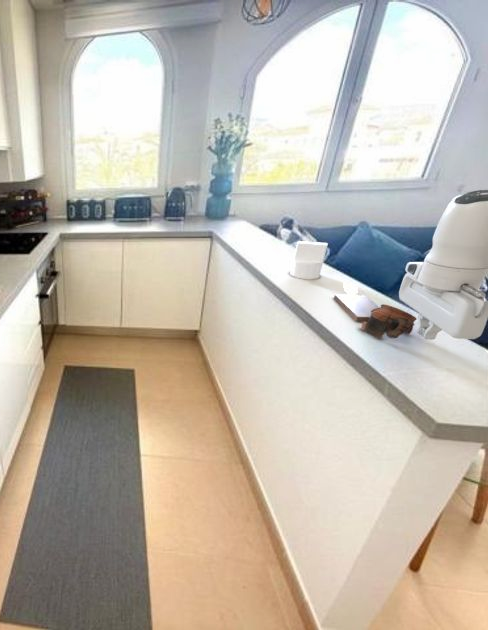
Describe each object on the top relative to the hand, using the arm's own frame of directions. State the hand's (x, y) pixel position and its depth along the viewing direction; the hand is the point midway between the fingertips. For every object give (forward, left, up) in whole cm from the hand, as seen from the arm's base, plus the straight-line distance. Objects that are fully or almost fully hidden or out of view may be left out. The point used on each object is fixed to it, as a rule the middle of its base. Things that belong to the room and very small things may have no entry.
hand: (425, 336), depth 75 cm
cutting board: (+1, -26, -6) cm, 27 cm away
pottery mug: (0, -11, -6) cm, 13 cm away
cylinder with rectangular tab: (+7, -56, -6) cm, 57 cm away
